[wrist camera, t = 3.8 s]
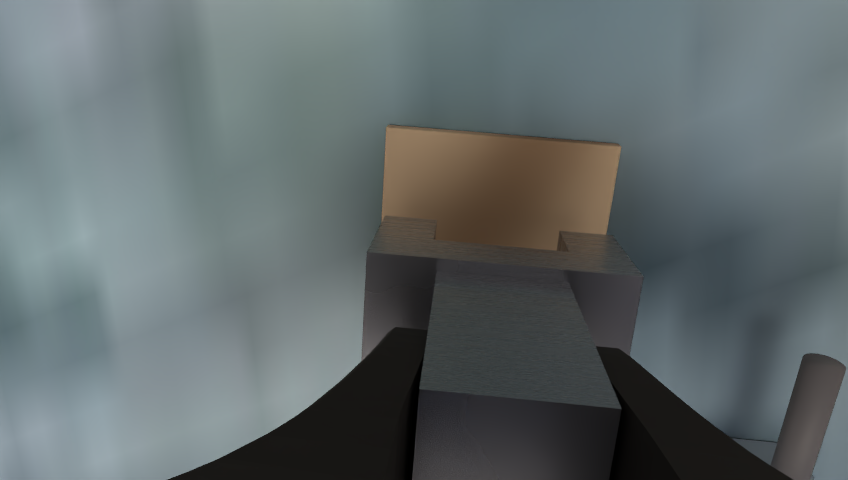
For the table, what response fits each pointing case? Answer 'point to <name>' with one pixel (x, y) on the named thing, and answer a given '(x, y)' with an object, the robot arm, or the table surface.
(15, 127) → the table surface
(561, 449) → the slotted grey block
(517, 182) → the pad
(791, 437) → the vise
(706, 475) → the robot arm
